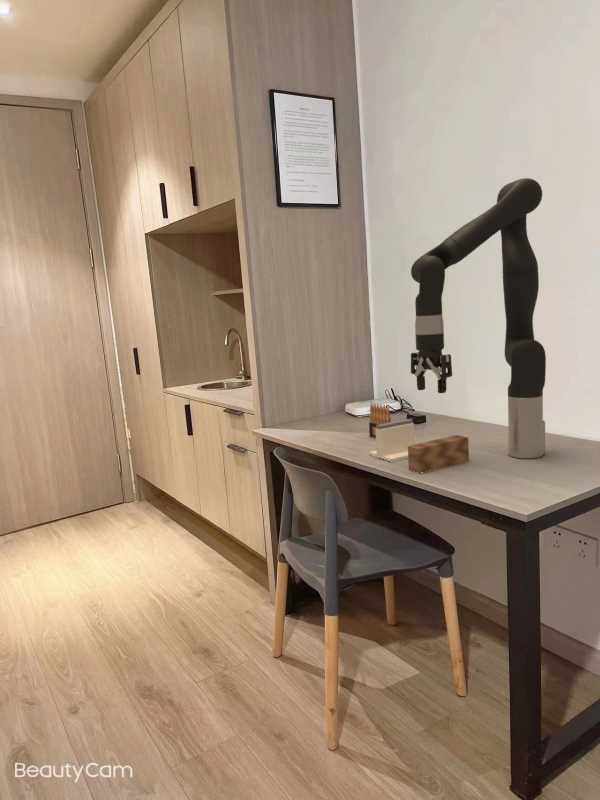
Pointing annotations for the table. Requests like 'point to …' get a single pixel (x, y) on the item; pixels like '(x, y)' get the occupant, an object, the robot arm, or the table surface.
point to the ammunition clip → (378, 417)
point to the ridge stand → (394, 440)
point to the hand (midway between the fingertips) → (431, 391)
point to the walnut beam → (438, 453)
